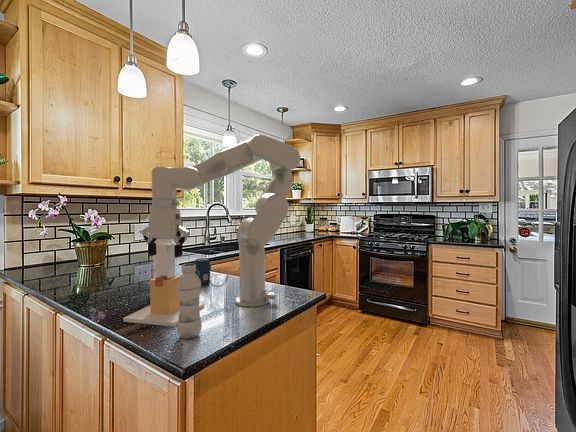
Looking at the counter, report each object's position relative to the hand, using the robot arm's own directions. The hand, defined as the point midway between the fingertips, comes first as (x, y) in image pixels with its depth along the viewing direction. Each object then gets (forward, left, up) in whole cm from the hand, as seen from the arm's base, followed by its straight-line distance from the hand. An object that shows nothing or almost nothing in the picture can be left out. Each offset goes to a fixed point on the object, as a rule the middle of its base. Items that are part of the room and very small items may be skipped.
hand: (165, 255), depth 100 cm
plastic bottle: (-17, +14, -20) cm, 30 cm away
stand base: (0, 0, -20) cm, 20 cm away
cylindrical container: (+14, -18, -20) cm, 30 cm away
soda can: (+6, -35, -20) cm, 41 cm away
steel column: (0, 0, -18) cm, 18 cm away
